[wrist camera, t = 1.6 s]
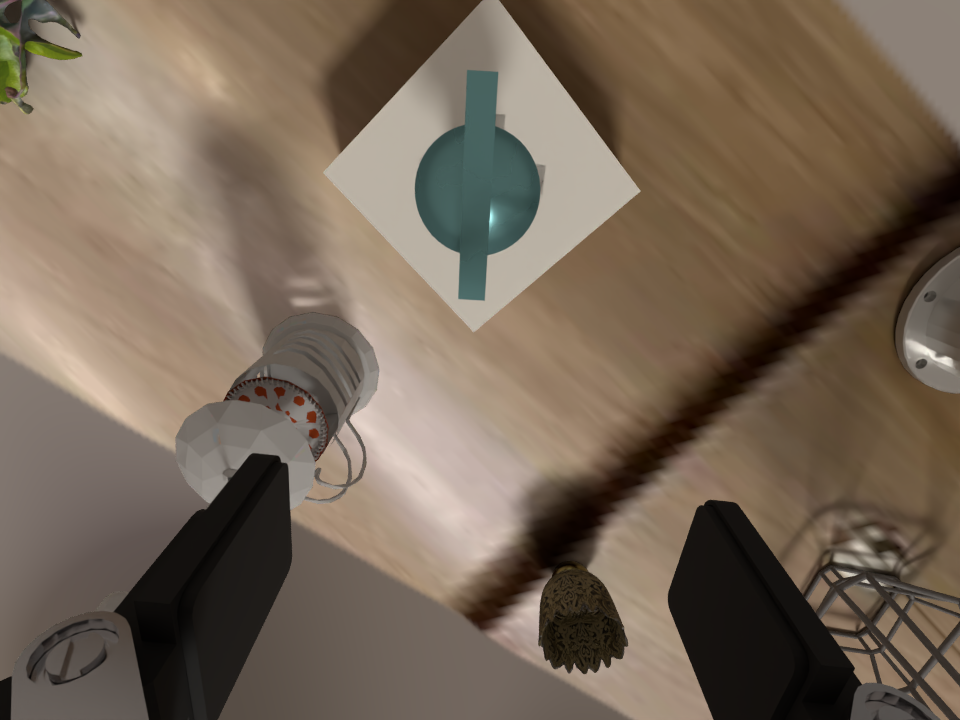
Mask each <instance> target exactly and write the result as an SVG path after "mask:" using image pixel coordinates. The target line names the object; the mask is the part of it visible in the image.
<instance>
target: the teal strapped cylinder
mask: <svg viewBox="0 0 960 720" xmlns="http://www.w3.org/2000/svg"><path fill="white" fill-rule="evenodd" d="M497 87H498V72H493V71H476V70H467V82H466V108H465V125H462V126H459V127H456V128H453V129H451V130H449V131H447V132H446V133H444V134H443V135H441V136H440V137H439V138H438V139H436V140H435V141H434V142H433V143H432V145H431V146H430V147H429V148H428V149H427V151H426V152H425V154H424V156H423V158H422V160H421V162H420V164H419V167H418V170H417V174H416V179H415V200H416V205H417V209H418V212H419V215H420V217H421V219H422V222H423V223H424V225H425V227H426V228H427V230H428V231H429V232H430V233H431V235H432V236H433V237H434V238H435V239H436V240H437V241H438V242H440V243H441V244H442V245H444V246H445V247H447V248H449V249H451V250H453V251H455V252H458V253H460V264H459V290H458V299H464V300H481V301H485V289H486V272H487V256H488V255H491V254H495V253H498V252H500V251H503V250H505V249H507V248H508V247H510V246H512V245H513V244H514V243H516V242H517V241H518V240H519V239H520V238H521V237H522V236H523V235H524V234H525V233H526V231H527V230H528V229H529V227H530V226H531V224H532V222H533V220H534V218H535V216H536V213H537V210H538V206H539V201H540V178H539V174H538V170H537V167H536V164H535V162H534V160H533V158H532V156H531V154H530V153H529V151H528V150H527V148H526V147H525V146H524V145H523V144H522V143H521V141H520V140H518V139H517V138H516V137H515V136H514V135H512V134H511V133H509V132H507V131H506V130H504V129H501V128H499V127H496V126H495V121H496V104H497Z"/></svg>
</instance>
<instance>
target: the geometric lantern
mask: <svg viewBox="0 0 960 720" xmlns="http://www.w3.org/2000/svg"><path fill="white" fill-rule="evenodd" d="M830 570H831V571H832V572H833V573H834V574H835V575H836V576H837V577H838V578H839V580H838V581H836V582H834V583H831V581H830V580H829V579H828V578H827V577H826V575H825V574H826V573H827V572H829V571H830ZM836 570H839V571H844V572H850V573H856V574H858V575H856V576H852V577H847V578H843V577H842V576H841V575H840V574H839V573H838V572H837V571H836ZM821 577H822V578H823V579H824V580H825V582H826V583H827V584H828V585H829V586H830V589H829V591H828V592H827V594H826V596H825V598H824V599H823V601H822V603H821V604H820V606H819V608H818V609H817V611H816V614H817V616H818V617H819V619H821V618H822V617H823V615H824V614H825V613H826V611H827V610H828V609H829V607H830V606H831V605H832V603H833V602H834V601H835V599H836V598H837V596H838V595H839V596H840V597H841V598H842V599H843V600H844V601H845V603H846V604H847V605H848V606H849V607H850V608H851V609H852V610H853V611H854V612H855V614H856V615H857V616H858V617H859V618H860V619H861V620H862V621H863V622H864V624H865V625H866V626H867V627H868V628H867V630H865V631H863V632H861V633H859V634H857V635H853V634H847V633H841V632H836V631H830V630H828V631H829V633H830V634H831V635H837V636H843V637H849V638H854V639H859V641H860V642H861V643H862V645H863V646H864V647H865V649H866V650H863V649H856V648H850V647H843V646H839V647H840V648H841V649H842V651H849V652H856V653H862V654H869V655H870V658H871V662H872V666H873V669H874V673H875V677H876V680H877V683H880V684H882V682H881V678H880V675H879V671H878V667H877V664H876V660H875V657H874V654H877V653H881V654H882V656H883V657H884V658H885V659H886V660H887V661H888V663H889V664H890V665H891V666H892V667H893V669H894V670H895V671H896V672H897V673H898V675H899V676H900V677H901V678H902V679H903V681H904V682H905V683H906V684H907V685H908V686H906V687H904V688H900V689H898V690H900V691H902V692H904V693H906V694H909V693H911V694H912V695H913V697H914V698H915V699H916V700H917V701H919V702H920V703H922V704H923V705H924V706H926V707H927V708H928V709H929V710H930V708H929V707H928V706H927V704H926V703H925V702H924V700H923V699H922V698H921V696H920V695H919V694H918V692H917V691H916V690H915V689H916V688H917V686H918V685H919V686H920V687H921V688H922V689H923V690H924V692H925V693H926V694H927V695H928V696H929V697H930V698H931V700H932V701H933V702H934V703H935V704H936V705H937V706H938V708H939V709H940V710H941V711H942V712H943V713H944V714H945V715H946V717H947V718H948V719H949V720H960V719H959V718H958V717H957V716H956V715H955V714H954V713H953V711H952V710H951V709H950V708H949V707H948V706H947V705H946V704H945V703H944V701H943V700H942V699H941V698H940V697H939V696H938V695H937V694H936V693H935V691H934V690H933V689H932V688H931V687H930V686H929V685H928V684H927V683H926V681H925V680H924V678H925V677H926V676H927V674H928V673H929V672H930V671H931V669H932V668H933V667H934V666H935V665H936V663H937V662H939V663H940V664H941V665H942V667H943V668H944V669H945V670H946V671H947V672H948V674H949V675H950V676H951V677H952V678H953V679H954V680H955V682H956V683H957V684H958V685H959V686H960V674H959V673H958V672H957V671H956V670H955V669H954V668H953V666H952V665H951V664H950V663H949V662H948V661H947V660H946V658H945V657H944V656H943V655H944V654H945V652H946V651H947V650H948V649H949V648H950V646H951V645H952V644H953V643H954V641H955V640H956V639H957V638H958V637H959V635H960V622H959V623H958V624H957V625H956V627H955V628H954V629H953V630H952V632H951V633H950V634H949V635H948V637H947V638H946V639H945V640H944V641H943V643H942V644H941V645H940V646H939V648H938V649H937V648H936V647H935V646H934V645H933V644H932V643H931V641H930V640H929V639H928V638H927V637H926V636H925V635H924V634H923V632H922V631H921V630H920V629H919V628H918V627H917V626H916V625H915V623H914V622H913V621H912V620H911V619H910V618H909V617H908V615H907V613H908V611H909V610H910V608H911V606H912V605H913V603H914V601H915V602H918V603H921V604H923V605H926V606H929V607H931V608H934V609H937V610H939V611H942V612H945V613H947V614H950V615H953V616H955V617H958V618H960V614H959V613H956V612H953V611H951V610H948V609H945V608H943V607H940V606H937V605H935V604H932V603H929V602H927V601H924V600H921V599H918V598H916V597H915V596H917V597H922V598H928V599H934V600H940V601H946V602H951V603H956V604H958V606H959V609H960V598H957V597H953V596H950V595H946V594H942V593H939V592H935V591H932V590H928V589H925V588H921V587H918V586H914V585H911V584H907V583H904V582H901V581H900V580H899V579H897V578H896V577H895V576H889V575H883V574H878V573H872V572H867V571H861V570H855V569H850V568H844V567H839V566H832V565H830V566H828V567H827V568H825V569H823V570H822V571H820V572H819V573H818V575H817V577H816V578H815V580H814V582H813V583H812V585H811V586H810V588H809V590H808V591H807V593H806V595H805V596H804V598H805V599H806V600H808V599H809V597H810V595H811V594H812V592H813V591H814V589H815V587H816V586H817V584H818V582H819V581H820V579H821ZM865 579H867V580H868V581H869V582H870V583H871V584H867V583H862V582H861V581H863V580H865ZM878 582H881V583H884V584H888V585H892V586H895V587H896V588H889V587H884V586H881V585H880V584H879V583H878ZM853 585H856V586H862V587H867V588H873V589H876V590H877V592H878V593H879V594H880V595H881V596H882V597H883V598H884V600H885V601H886V602H885V604H884V605H883V607H882V608H881V610H880V611H879V613H878V614H877V615H876V617H875V618H874V620H873V621H872V622H871V620H870V619H869V618H868V617H867V616H866V615H865V614H864V613H863V612H862V611H861V610H860V608H859V607H858V606H857V605H856V604H855V603H854V602H853V601H852V600H851V599H850V598H849V597H848V595H847V594H846V593H845V592H844V590H846V589H848V588H850V587H851V586H853ZM886 591H889V592H892V594H891V595H889V594H888V593H887V592H886ZM912 591H913V592H912ZM898 593H900V594H905V595H906V596H907V597H908V598H909V601H908V603H907V604H906V606H905V608H904V609H903V610H902V609H901V608H900V606H899V605H898V604H897V603H896V602H895V601H894V598H895V597H896V595H897V594H898ZM889 605H890V607H891V608H892V609H893V610H894V611H895V612H896V613H897V615H898V616H899V617H898V619H897V621H896V622H895V624H894V626H893V627H892V629H891V631H890V632H889V634H888V636H887V637H885V636H884V635H883V634H882V633H881V632H880V630H879V629H878V628H877V627H876V624H877V623H878V621H879V620H880V618H881V617H882V615H883V614H884V613H885V611H886V610H887V608H888V607H889ZM902 621H903V622H904V623H905V624H906V625H907V626H908V627H909V629H910V630H911V631H912V632H913V633H914V634H915V635H916V637H917V638H918V639H919V640H920V641H921V642H922V644H923V645H924V646H925V647H926V648H927V649H928V650H929V652H930V653H931V654H932V656H931V657H930V659H929V660H928V661H927V662H926V664H925V665H924V666H923V667H922V669H921V670H920V671H919V672H918V673H917V671H916V670H915V669H914V668H913V667H912V666H911V665H910V664H909V663H908V661H907V660H906V659H905V658H904V657H903V656H902V655H901V654H900V653H899V651H898V650H897V649H896V648H895V647H894V646H893V645H892V644H891V643H890V641H891V639H892V637H893V636H894V634H895V633H896V631H897V629H898V628H899V626H900V624H901V623H902ZM871 632H872V633H873V634H874V635H875V636H876V637H877V638H878V639H879V641H880V642H881V643H882V645H881V643H880V642H879V641H878V640H877V639H876V637H875V636H874V635H873V634H872V633H871ZM867 634H868V635H869V636H870V637H871V638H872V640H873V641H874V642H875V643H876V645H877V646H878V647H879V648H877V649H874V650H871V649H870V648H869V647H868V645H867V644H866V643H865V641H864V640H863V639H862V637H863V636H865V635H867ZM885 649H887V650H888V651H889V652H890V653H891V654H892V655H893V656H894V658H895V659H896V660H897V661H898V662H899V663H900V664H901V666H902V667H903V668H904V669H905V670H906V671H907V672H908V673H909V675H910V676H911V677H912V678H913V680H912V681H911V682H909V680H908V679H907V678H906V677H905V676H904V675H903V673H902V672H901V671H900V670H899V669H898V667H897V666H896V665H895V664H894V663H893V662H892V660H891V659H890V658H889V657H888V656H887V654H886V653H885V652H884V651H885ZM930 711H931V710H930ZM931 712H932V711H931Z"/></svg>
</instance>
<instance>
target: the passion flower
mask: <svg viewBox="0 0 960 720" xmlns="http://www.w3.org/2000/svg"><path fill="white" fill-rule="evenodd" d="M16 1H22V5H21V17H20V20H19V21H18V23H10V22H9V21H8V19H7V18H6V16H5V15H4V11H5V8H6V7H7V6H8V5H9V4H11V3H13V2H16ZM29 19H34V20H37V21H39V22H42V23H46V22H56V23H59V24H61V25H63V26H64V27H67V28H68V29H69V30H70V31H71V32H72V33H73V34H74V35H75V36H76V37H77V38H80V34H79V33H78V32H77V31H75V30H74V29H73V28H72V26H71V25H70V24H69V23H68V22H67V21H66V20H65V19H64V18H62V17H61V16H60V15H59V14H58V13H57V12H56V10H55V9H54V8H53V7H52V6H51V5H50V4H49V3H48V2H47V1H46V0H0V103H1V104H7V103H9V102H11V101H13V102H14V103H15V104H16V105H17V106H18V107H19V108H20V110H21V111H22V112H23V113H24V114H30V113H31V112H32V111H33V107H32V106H30V105H28V104H26V103H24V102H23V101H22V99H21V98H22V97H23V96H25V95H26V94H27V92H28V83H27V77H26V55H25V49H26V50H28V51H29V52H31V53H34V54H37V55H42V56H45V57H48V58H52V59H58V60H68V59H75V58H78V57H81V56H82V53H80V52H78V51H73V50H70V49H67V48H64V47H61V46H58V45H55V44H52V43H50V42H48V41H46V40H44V39H42V38H41V37H39V36H38V35H37V34H36V33H34V32H33V31H32V30H31V29H30V27H29V24H28V20H29ZM18 47H19V49H18ZM19 51H20V52H19Z"/></svg>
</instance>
